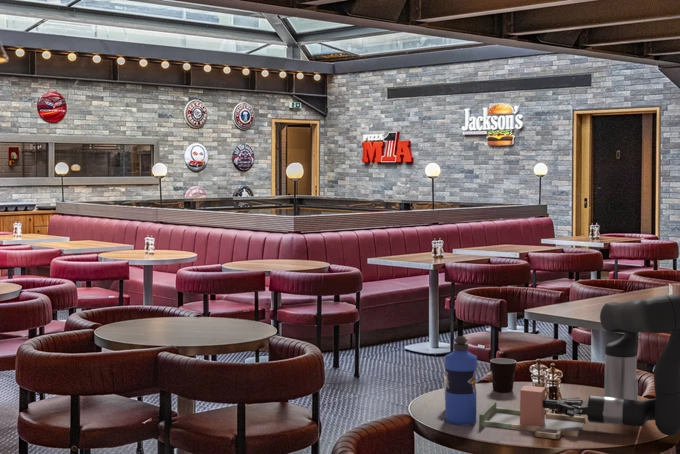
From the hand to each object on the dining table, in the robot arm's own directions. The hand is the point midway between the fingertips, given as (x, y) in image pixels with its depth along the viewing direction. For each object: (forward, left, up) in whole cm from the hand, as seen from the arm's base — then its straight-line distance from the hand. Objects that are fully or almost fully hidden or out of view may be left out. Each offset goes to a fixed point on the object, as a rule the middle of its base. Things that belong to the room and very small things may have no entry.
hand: (543, 403), depth 251 cm
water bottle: (+23, -5, -7) cm, 25 cm away
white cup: (+23, -17, -7) cm, 30 cm away
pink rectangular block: (+3, -1, -6) cm, 7 cm away
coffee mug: (+5, -43, -7) cm, 44 cm away
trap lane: (+2, -1, -7) cm, 7 cm away
